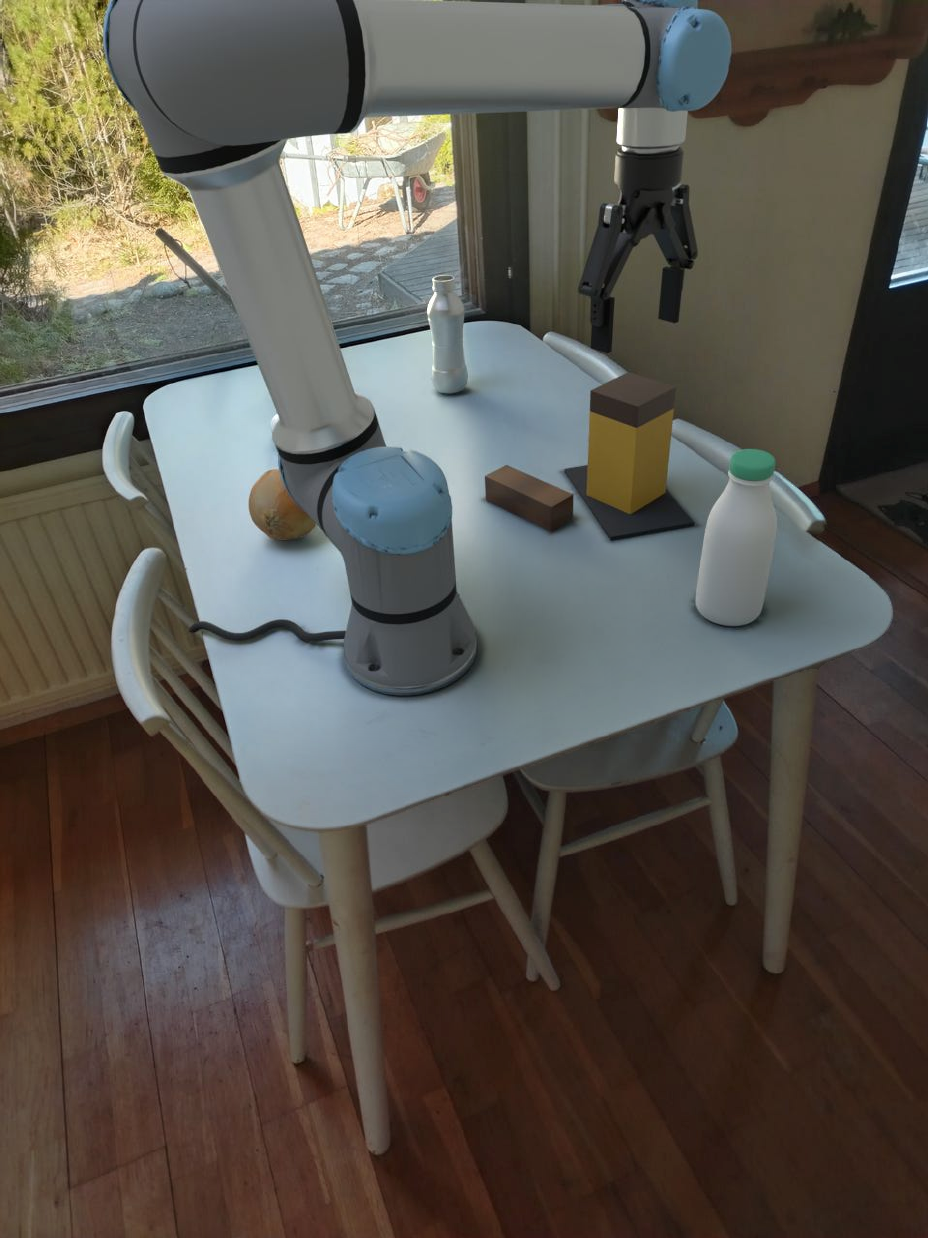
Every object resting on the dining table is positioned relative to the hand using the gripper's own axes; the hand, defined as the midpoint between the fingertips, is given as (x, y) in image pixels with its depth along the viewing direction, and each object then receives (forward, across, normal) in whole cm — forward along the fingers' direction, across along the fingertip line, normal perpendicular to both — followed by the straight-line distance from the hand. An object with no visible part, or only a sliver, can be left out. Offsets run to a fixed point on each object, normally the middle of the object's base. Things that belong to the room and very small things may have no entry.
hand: (635, 334), depth 108 cm
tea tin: (+15, 0, -4) cm, 16 cm away
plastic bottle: (+24, -10, -48) cm, 54 cm away
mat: (+24, 0, 0) cm, 24 cm away
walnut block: (+24, +11, -8) cm, 28 cm away
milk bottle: (+24, +12, +25) cm, 37 cm away
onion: (+24, +39, -28) cm, 54 cm away
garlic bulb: (+22, +30, -47) cm, 60 cm away
